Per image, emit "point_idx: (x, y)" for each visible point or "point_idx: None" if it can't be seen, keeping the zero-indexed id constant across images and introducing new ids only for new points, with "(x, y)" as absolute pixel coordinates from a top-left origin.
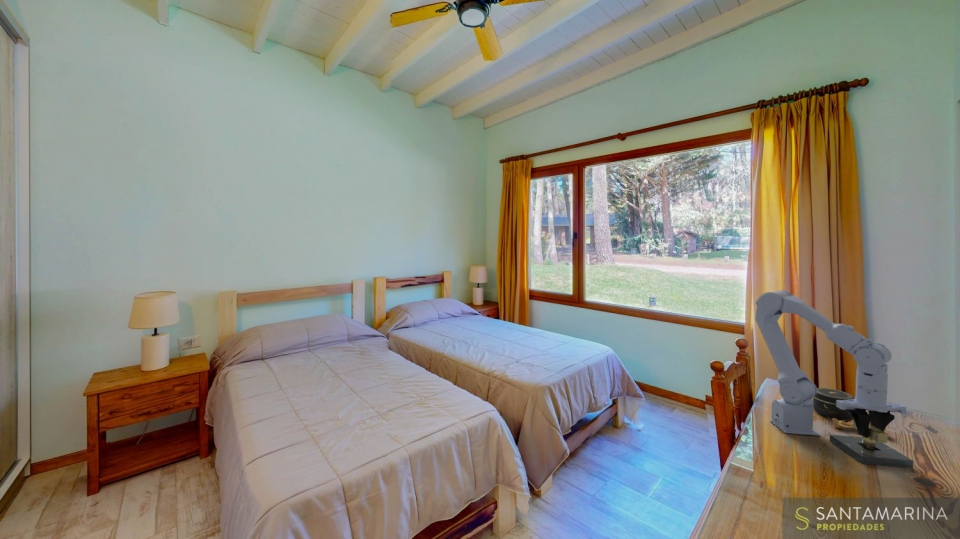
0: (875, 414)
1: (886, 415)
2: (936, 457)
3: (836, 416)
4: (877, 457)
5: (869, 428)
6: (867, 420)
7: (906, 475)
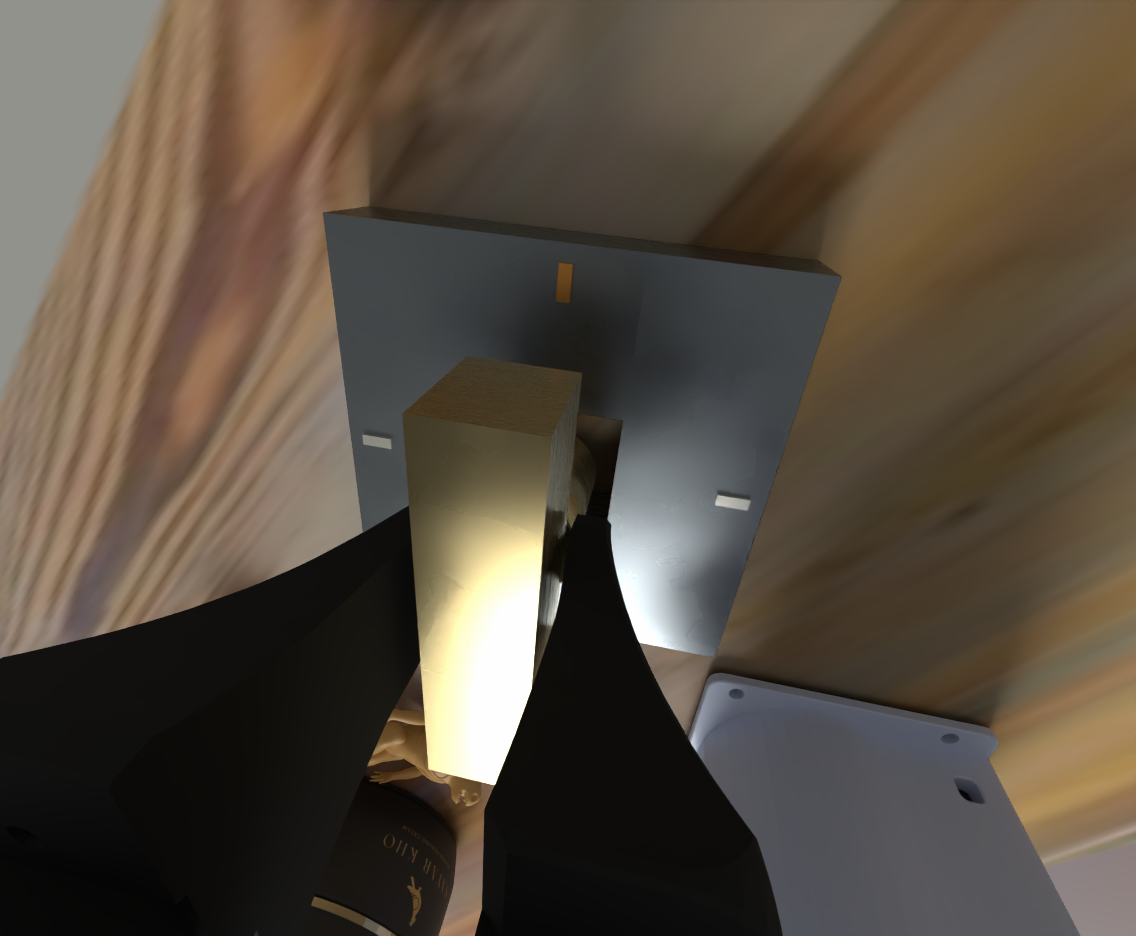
0: (270, 844)
1: (71, 798)
2: (91, 393)
3: (394, 812)
4: (667, 258)
5: (539, 590)
6: (596, 720)
7: (548, 33)
